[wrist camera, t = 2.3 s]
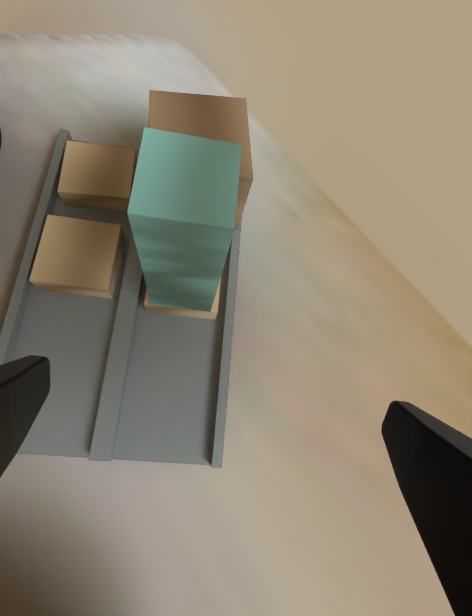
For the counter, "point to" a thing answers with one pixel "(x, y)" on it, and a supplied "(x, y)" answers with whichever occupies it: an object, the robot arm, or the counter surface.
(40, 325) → the lane tray
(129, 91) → the counter surface
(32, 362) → the robot arm
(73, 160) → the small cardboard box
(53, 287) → the tan square block
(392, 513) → the counter surface
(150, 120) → the cube
